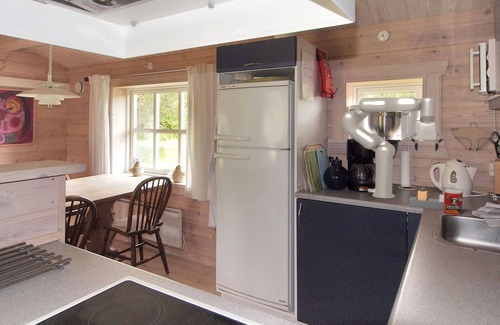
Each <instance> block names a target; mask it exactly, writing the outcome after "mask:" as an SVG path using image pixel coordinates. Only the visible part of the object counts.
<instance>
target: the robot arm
mask: <svg viewBox="0 0 500 325" xmlns="http://www.w3.org/2000/svg"><path fill="white" fill-rule="evenodd" d="M436 106H437V100H436V98H435V97H422V98H417V97H413V96H407V97H405V96H402V97H364V98H361V99H360V100H359V103H358V106H357V107H356V108H355V109H353V110H349V111H346V112H345V113H344V114H343V115H342V118H341V126H342V129H343V131H344V132H345V133H346V134H347V135H348V136H349V137H351V138H352V139H354V141H356V142H357V143H359V144H360V145H362V146H363V147H364V148H365V149H368V150H372V151H373V152H374V153H375V154H374V155H375V156H374V158H375V187H374V188H367V192H368V193H372V194H371V195H372V197H374V198H377V199H394V198H395V194H394V193H393V176H394V175H393V174H394V172H393V170H394V163H393V162H394V161H393V160H394V158H393V157H394V156H395V154H396V148H395V146H394V145H393V144H391V143H390V142H389V141H387V140H386V139H384V138H383V137H382V136H380V135H378V134H376V133H371V132H369V131H368V130H366V129H365V127H364V128H363V127H362V126H360V125H359V124H360V123H361V122H362V121H364V119H366V118H367V117H368V116H369V115H371V114H372V113H389V112H413V113H415V112H419V116H420V117H418V118H416V121H419V122H418V123H417V128H416V132H415V133H413V134H411V135H409V138H410V140H411V141H412V142H413V144H414V150H415V151H416V152H417V151H418V149H419V141H434V142H435V144H434V145H435V147H434V151H435V152H437V151H438V150H439V144H440V143H441V142H443V140H444V138H445V137H446V136H445V135H443V134H441V133H440V132H438V124H437V122H436V111H437V110H436V108H437V107H436ZM438 136H439V137H440V138H439V139H438ZM414 137H416V139H415V138H414Z"/></svg>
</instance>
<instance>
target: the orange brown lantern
mask: <svg viewBox="0 0 500 325" xmlns="http://www.w3.org/2000/svg"><path fill="white" fill-rule="evenodd" d="M417 198H418V200H424V201H427V198H428V190H426V187H424V186H420V187H419V190H418V191H417Z"/></svg>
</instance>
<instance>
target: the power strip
mask: <svg viewBox="0 0 500 325" xmlns="http://www.w3.org/2000/svg"><path fill="white" fill-rule="evenodd" d="M408 207H413V208H423V207H424V208H425V209H435V210H442V211H444V194H441V193H440V194H439V199H438V198H428V197H427V201H424V200H418V196H417V197H416V196H410V197H409V199H408ZM424 208H423V209H424Z"/></svg>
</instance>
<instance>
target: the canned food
mask: <svg viewBox="0 0 500 325" xmlns="http://www.w3.org/2000/svg"><path fill="white" fill-rule="evenodd" d="M443 192H444V193H443V195H444V210H443V213H444V214H447V215H450V214H452V215H451V216H458V215H457V214H460V215H462V213H463V200H464V199H463V198H464V196H463V194H464V193H463V190H460V189H451V188H450V189H449V188H447V189H444V191H443Z"/></svg>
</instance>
